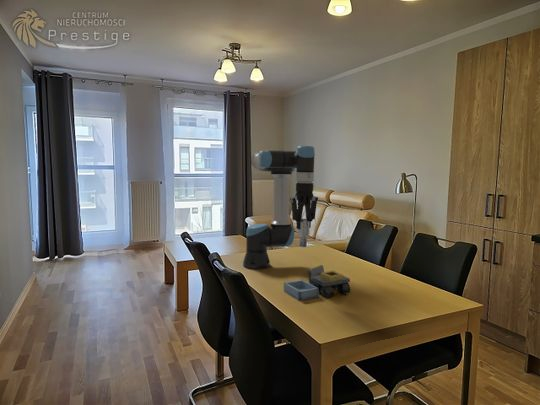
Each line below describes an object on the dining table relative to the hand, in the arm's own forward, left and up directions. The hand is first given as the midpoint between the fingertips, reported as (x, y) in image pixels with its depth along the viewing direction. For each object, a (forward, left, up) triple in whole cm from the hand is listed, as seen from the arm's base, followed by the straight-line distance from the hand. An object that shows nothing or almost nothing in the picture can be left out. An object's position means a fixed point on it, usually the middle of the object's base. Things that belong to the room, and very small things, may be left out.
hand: (303, 235), depth 158 cm
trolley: (+4, +12, -26) cm, 29 cm away
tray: (0, -1, -26) cm, 26 cm away
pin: (0, 0, -5) cm, 5 cm away
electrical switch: (-7, +13, -27) cm, 30 cm away
